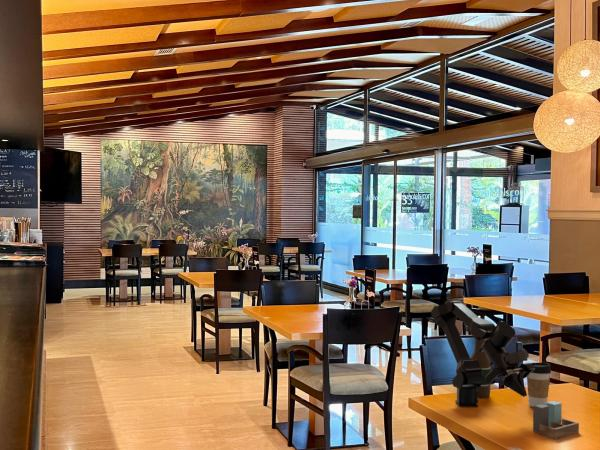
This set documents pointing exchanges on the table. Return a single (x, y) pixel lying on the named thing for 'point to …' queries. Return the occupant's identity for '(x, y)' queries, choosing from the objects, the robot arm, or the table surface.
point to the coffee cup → (539, 384)
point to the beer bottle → (486, 368)
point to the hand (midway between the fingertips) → (525, 396)
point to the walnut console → (559, 429)
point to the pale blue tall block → (554, 412)
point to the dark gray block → (540, 416)
